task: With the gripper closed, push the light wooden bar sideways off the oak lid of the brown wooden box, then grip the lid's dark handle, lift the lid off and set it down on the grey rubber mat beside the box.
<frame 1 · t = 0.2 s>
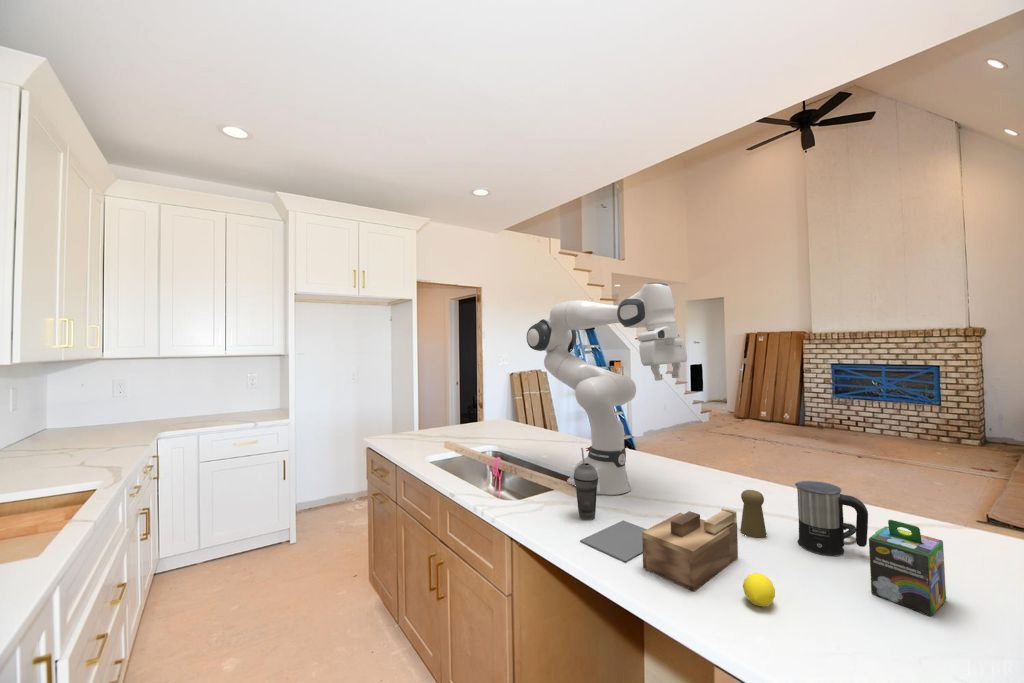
hand: (667, 379, 130), 39 cm above the counter, tool pointing down, fingers open, 8 cm apart
mat: (624, 540, 110), on the counter
milk frother: (827, 543, 107), on the counter
chalk box: (907, 598, 84), on the counter
light wooden bar: (719, 521, 98), point 10 cm above the counter, slide at 0.0 cm
lemon: (759, 603, 83), on the counter
brown wooden box: (686, 566, 97), on the counter
beverage cup: (587, 517, 125), on the counter
lid: (686, 539, 97), point 6 cm above the counter, touching brown wooden box
olive chess pawn: (753, 534, 112), on the counter
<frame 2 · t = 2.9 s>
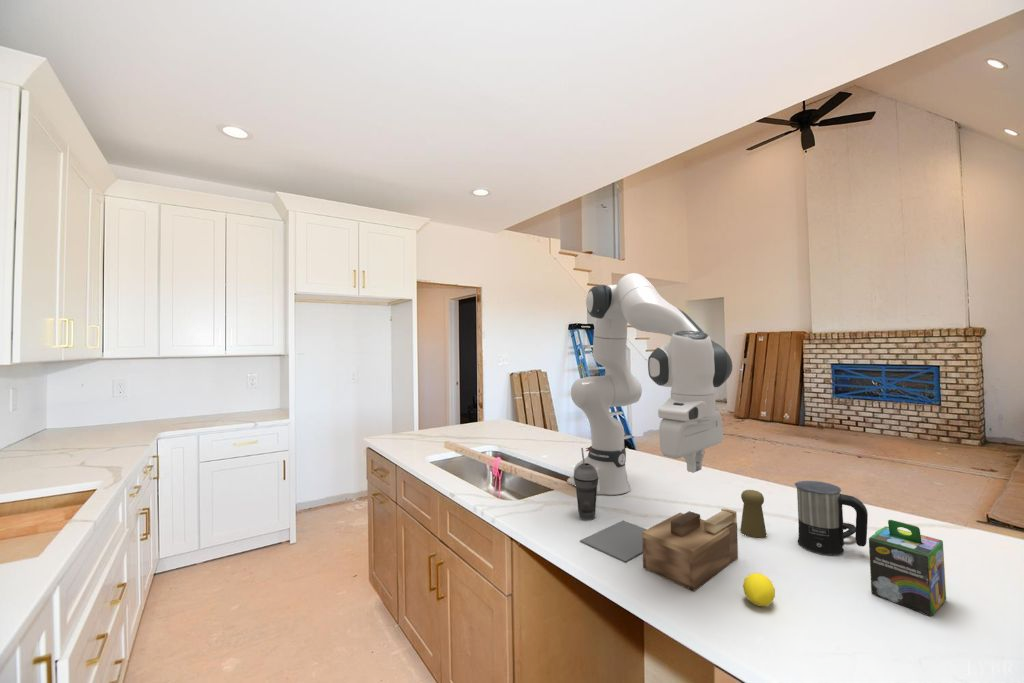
hand: (694, 470, 92), 23 cm above the counter, tool pointing down, fingers closed
nothing on the counter moved.
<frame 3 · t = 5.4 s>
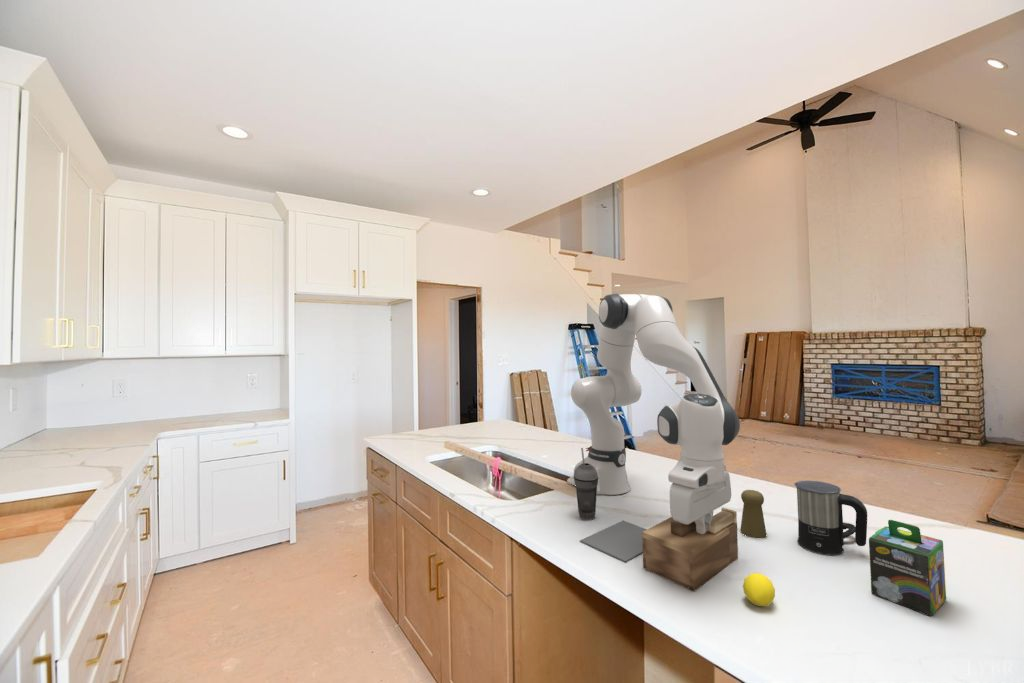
hand: (703, 531, 94), 9 cm above the counter, tool pointing down, fingers closed
light wooden bar: (719, 521, 98), point 10 cm above the counter, slide at 0.0 cm, touching gripper
everything else where it was.
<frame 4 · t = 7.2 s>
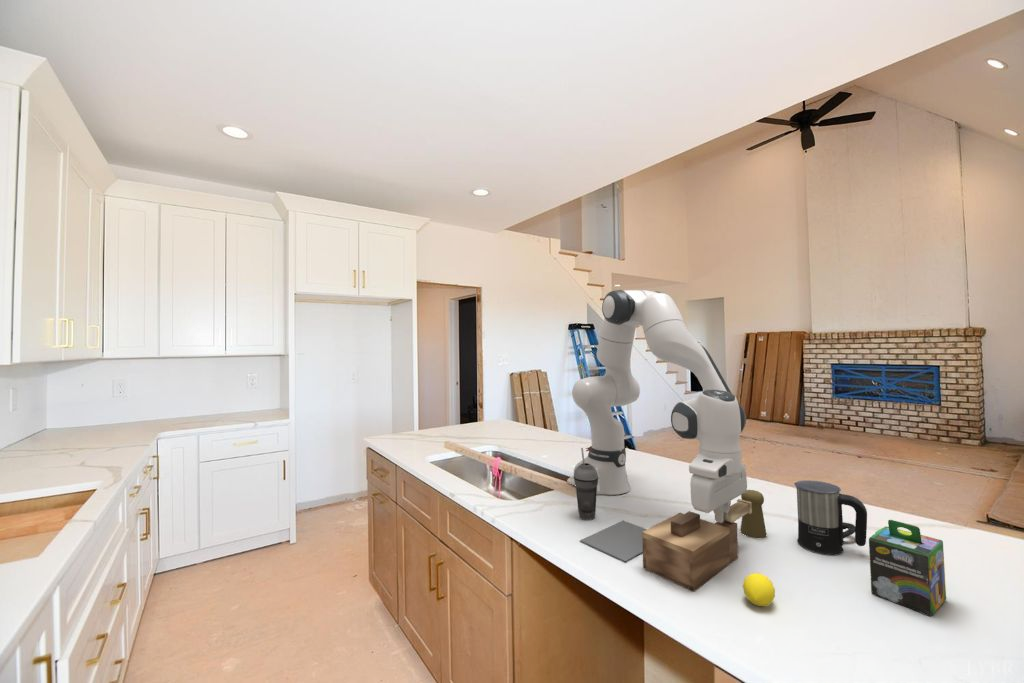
hand: (721, 520, 100), 9 cm above the counter, tool pointing down, fingers closed
light wooden bar: (736, 511, 103), point 10 cm above the counter, slide at 8.4 cm, touching gripper
everything else where it was.
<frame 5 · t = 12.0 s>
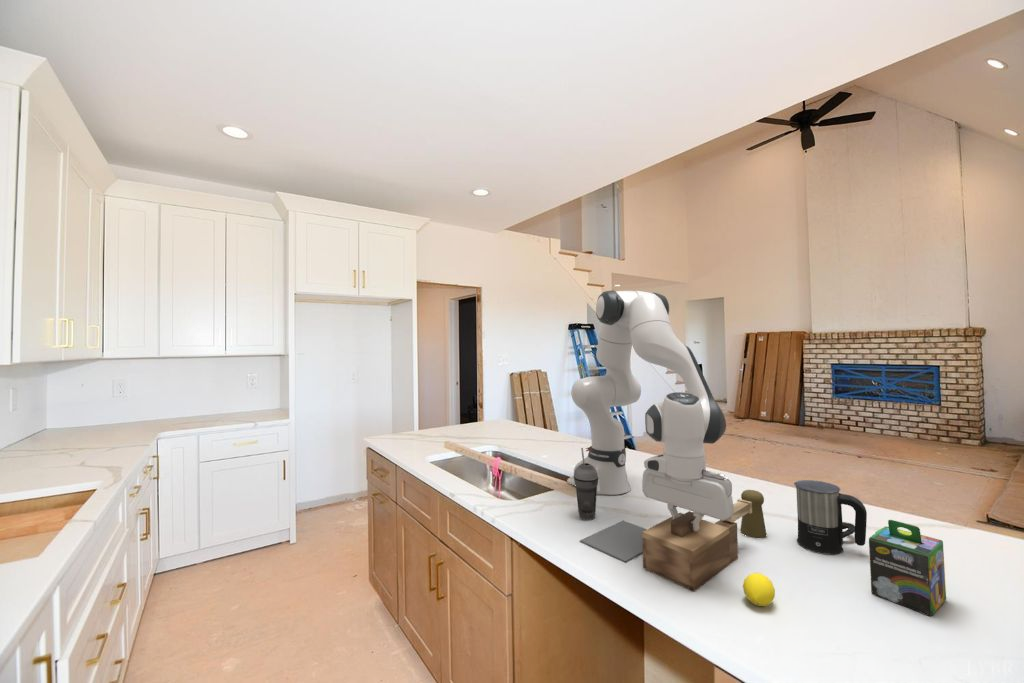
hand: (685, 526, 97), 9 cm above the counter, tool pointing down, fingers closed on lid, 3 cm apart
light wooden bar: (736, 511, 103), point 10 cm above the counter, slide at 8.5 cm
lid: (686, 539, 97), point 6 cm above the counter, touching gripper, brown wooden box
everything else where it was.
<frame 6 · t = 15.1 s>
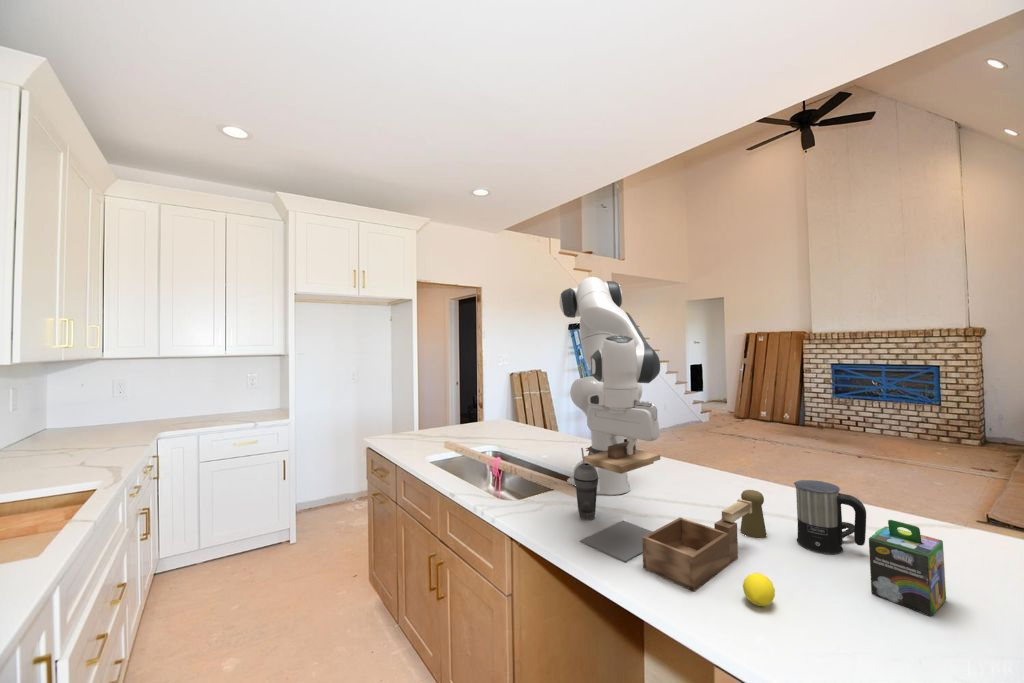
hand: (622, 452, 110), 23 cm above the counter, tool pointing down, fingers closed on lid, 3 cm apart
lid: (621, 464, 110), point 20 cm above the counter, touching gripper
everything else where it was.
when the fingers open (5 cm above the counter, at t = 18.5 s): lid drops 1 cm, resting on mat.
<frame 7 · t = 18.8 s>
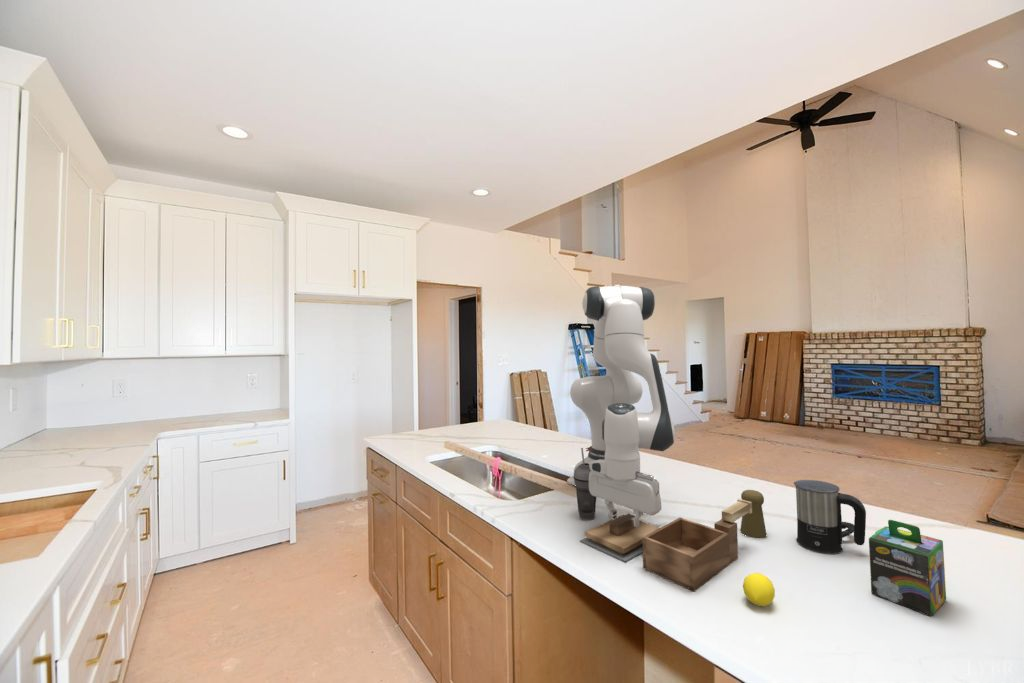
hand: (623, 521, 110), 5 cm above the counter, tool pointing down, fingers open, 5 cm apart
lid: (623, 538, 110), resting on mat
everything else where it was.
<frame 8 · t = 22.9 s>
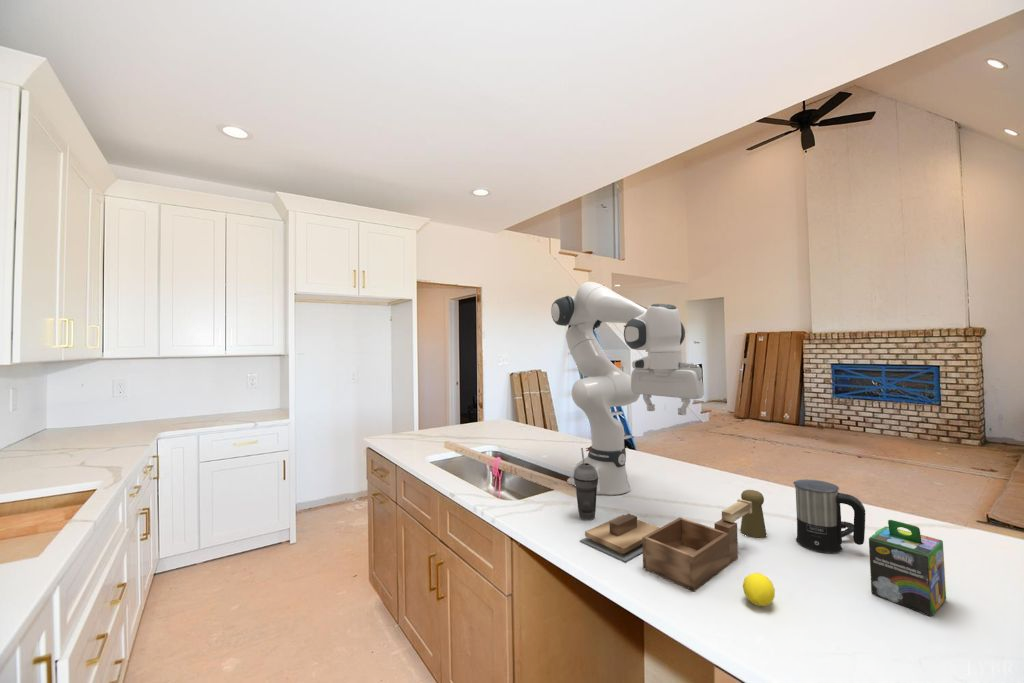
hand: (666, 412, 118), 31 cm above the counter, tool pointing down, fingers open, 8 cm apart
nothing on the counter moved.
at the end: light wooden bar slide at 8.5 cm; lid inside the target area (0.1 cm from its centre), resting on mat; lid tilted 0° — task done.
